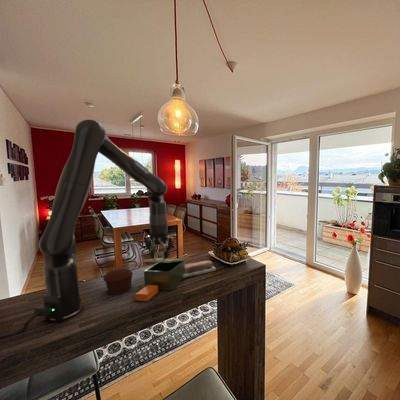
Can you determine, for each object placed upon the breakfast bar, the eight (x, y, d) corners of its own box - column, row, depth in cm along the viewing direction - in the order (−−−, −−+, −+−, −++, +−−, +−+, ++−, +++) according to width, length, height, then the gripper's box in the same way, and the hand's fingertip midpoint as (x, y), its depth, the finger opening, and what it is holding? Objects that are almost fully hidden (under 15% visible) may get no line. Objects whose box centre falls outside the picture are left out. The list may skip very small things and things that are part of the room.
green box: (170, 290, 105) (169, 272, 104) (145, 288, 106) (143, 270, 105) (185, 276, 119) (184, 260, 118) (162, 275, 121) (162, 259, 120)
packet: (158, 291, 104) (158, 285, 103) (147, 301, 96) (146, 294, 95) (148, 291, 104) (147, 284, 104) (136, 300, 96) (135, 293, 96)
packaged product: (182, 269, 116) (177, 263, 124) (183, 278, 116) (178, 272, 124) (216, 262, 126) (209, 257, 134) (216, 270, 126) (209, 265, 135)
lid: (168, 262, 103) (169, 252, 104) (142, 261, 105) (144, 251, 106) (184, 260, 118) (185, 251, 119) (161, 259, 120) (162, 250, 121)
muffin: (138, 283, 112) (137, 263, 111) (126, 294, 101) (124, 273, 100) (113, 284, 111) (111, 264, 110) (98, 296, 100) (96, 274, 99)
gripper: (138, 224, 103) (140, 260, 105) (168, 224, 101) (169, 261, 103) (149, 221, 110) (150, 255, 112) (177, 221, 109) (178, 256, 110)
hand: (160, 258), depth 107 cm, fingers closed on lid, 5 cm apart
